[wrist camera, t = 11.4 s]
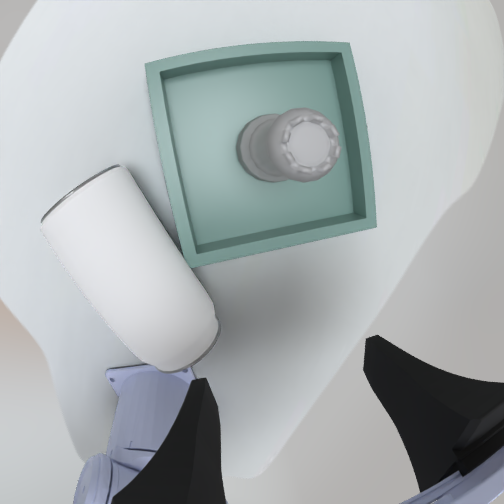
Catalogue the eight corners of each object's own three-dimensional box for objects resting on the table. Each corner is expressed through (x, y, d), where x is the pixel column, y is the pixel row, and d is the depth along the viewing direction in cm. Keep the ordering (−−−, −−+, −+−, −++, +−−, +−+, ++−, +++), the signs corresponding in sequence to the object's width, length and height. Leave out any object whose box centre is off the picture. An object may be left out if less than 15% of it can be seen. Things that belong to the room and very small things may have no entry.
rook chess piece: (288, 106, 17) (341, 79, 10) (311, 168, 19) (374, 178, 12) (224, 128, 17) (238, 108, 10) (250, 192, 19) (280, 216, 11)
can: (102, 164, 12) (231, 353, 16) (134, 158, 18) (223, 299, 22) (18, 237, 12) (144, 391, 16) (65, 210, 18) (155, 334, 22)
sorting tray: (359, 219, 21) (376, 227, 19) (189, 255, 20) (187, 268, 18) (334, 52, 17) (349, 42, 15) (151, 74, 16) (144, 63, 14)
